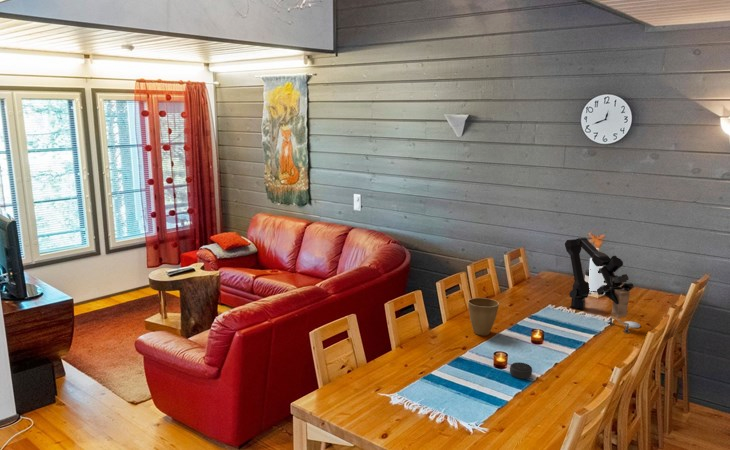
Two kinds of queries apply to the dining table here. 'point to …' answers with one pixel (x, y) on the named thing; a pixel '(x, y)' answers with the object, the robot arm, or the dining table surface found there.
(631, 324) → the pad
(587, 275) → the jar
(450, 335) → the dining table surface
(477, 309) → the plant pot
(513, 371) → the smart speaker
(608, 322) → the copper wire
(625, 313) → the taupe upright block
